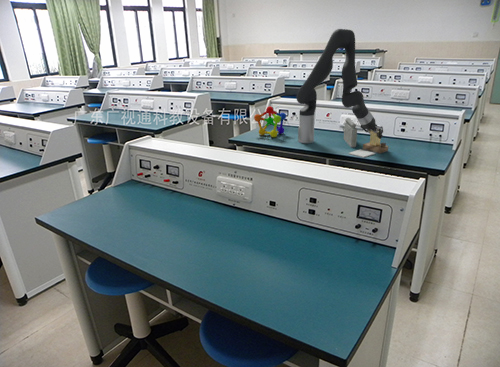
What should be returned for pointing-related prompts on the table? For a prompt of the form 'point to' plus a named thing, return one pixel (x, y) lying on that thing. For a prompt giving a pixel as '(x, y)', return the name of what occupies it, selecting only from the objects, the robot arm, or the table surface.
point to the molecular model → (271, 122)
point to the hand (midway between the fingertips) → (377, 136)
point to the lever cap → (374, 139)
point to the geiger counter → (350, 132)
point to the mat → (361, 153)
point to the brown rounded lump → (376, 148)
